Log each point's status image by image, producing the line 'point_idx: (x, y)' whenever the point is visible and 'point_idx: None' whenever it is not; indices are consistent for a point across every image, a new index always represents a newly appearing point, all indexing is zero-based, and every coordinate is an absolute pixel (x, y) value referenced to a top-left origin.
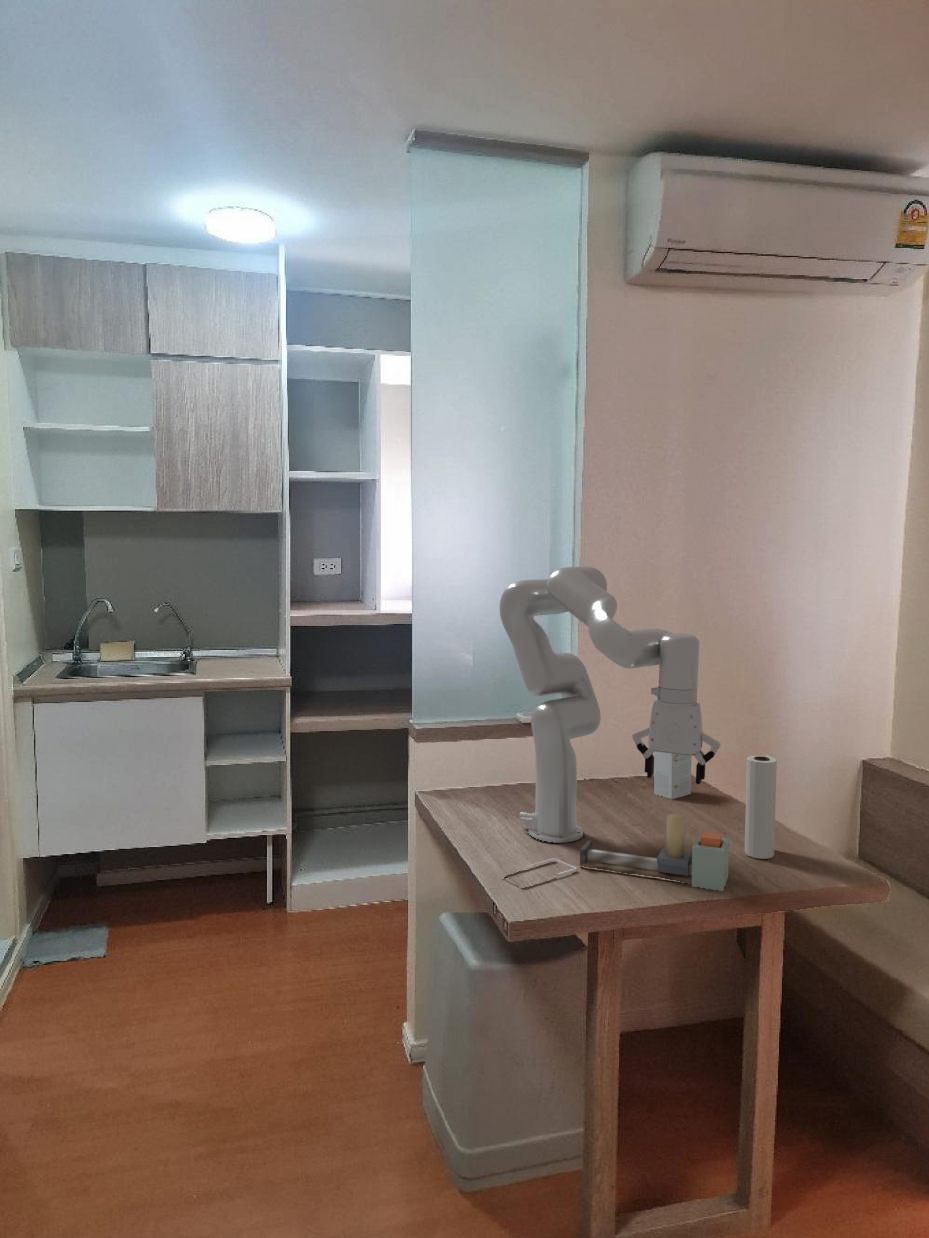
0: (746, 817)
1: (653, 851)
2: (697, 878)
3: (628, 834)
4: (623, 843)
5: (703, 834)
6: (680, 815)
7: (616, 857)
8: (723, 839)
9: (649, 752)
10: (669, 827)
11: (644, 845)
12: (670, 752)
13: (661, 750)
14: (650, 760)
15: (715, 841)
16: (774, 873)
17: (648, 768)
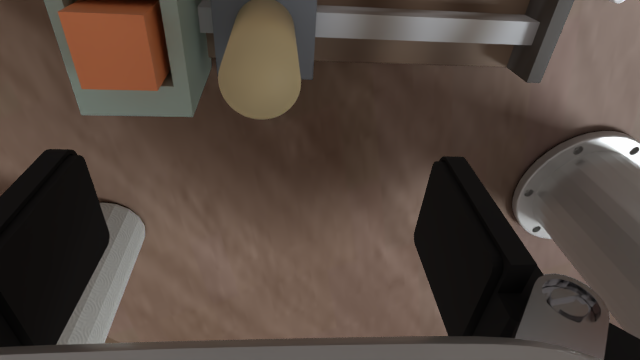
0: (108, 287)
1: (346, 165)
2: None
3: (409, 236)
4: (419, 187)
5: (143, 54)
6: (242, 104)
7: (448, 16)
8: (95, 98)
9: (557, 338)
10: (281, 35)
11: (370, 192)
12: (281, 344)
13: (440, 354)
14: (500, 258)
15: (79, 9)
16: (29, 132)
17: (483, 199)
